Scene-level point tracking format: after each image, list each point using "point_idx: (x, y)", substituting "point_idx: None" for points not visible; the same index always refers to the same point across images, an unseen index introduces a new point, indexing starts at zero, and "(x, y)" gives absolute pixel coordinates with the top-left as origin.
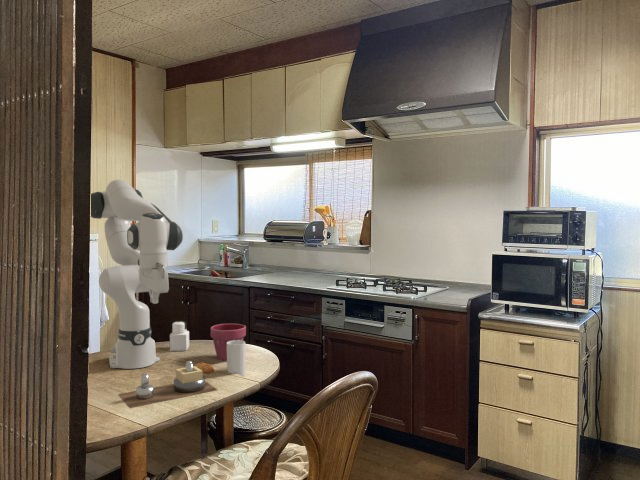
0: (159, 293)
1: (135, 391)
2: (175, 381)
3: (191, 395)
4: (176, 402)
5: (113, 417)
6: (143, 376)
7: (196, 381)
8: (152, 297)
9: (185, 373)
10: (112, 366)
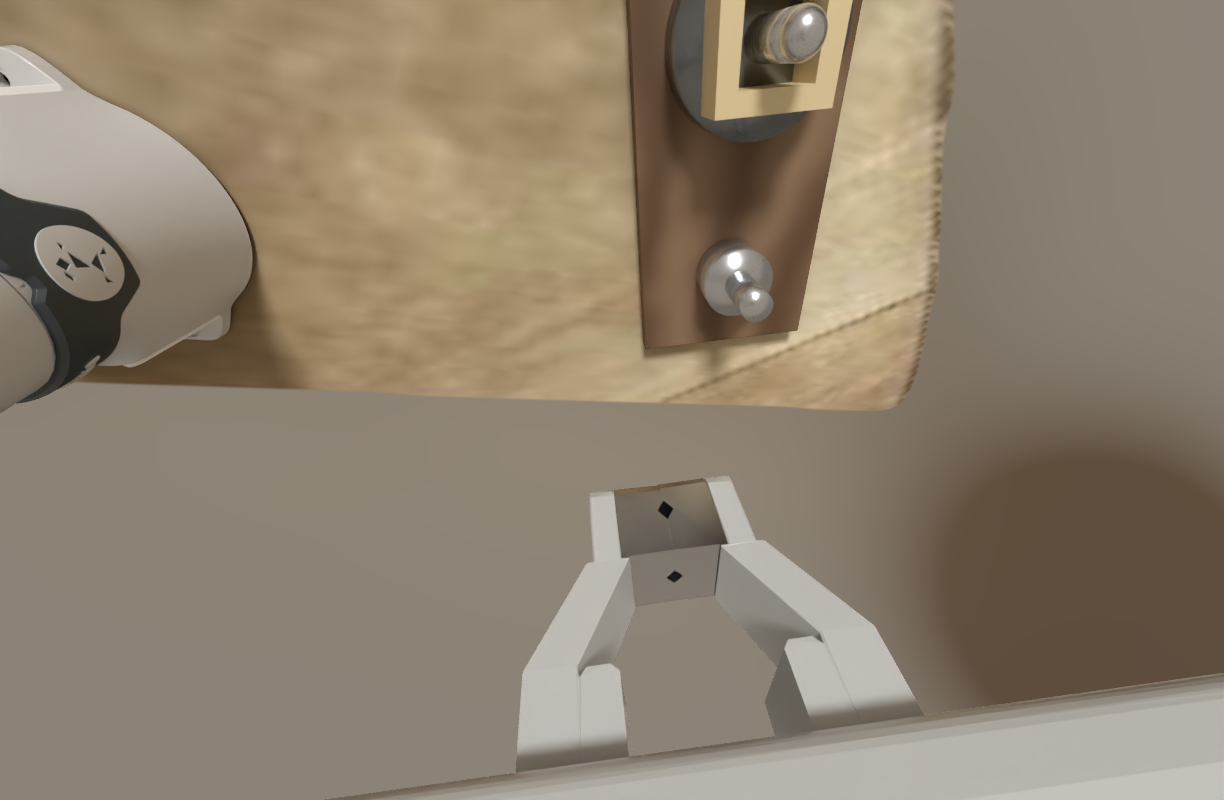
0: (867, 625)
1: (647, 293)
2: (749, 135)
3: (848, 70)
4: None
5: (787, 364)
6: (767, 313)
7: None
8: (728, 610)
9: (825, 85)
10: (224, 330)
